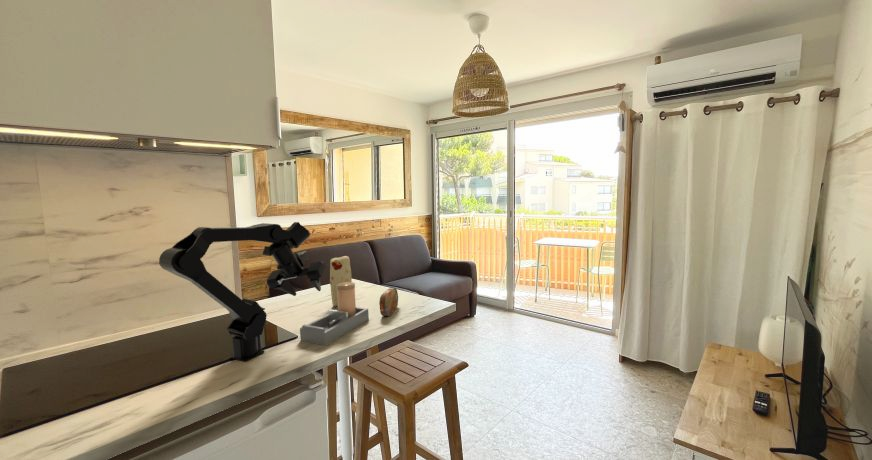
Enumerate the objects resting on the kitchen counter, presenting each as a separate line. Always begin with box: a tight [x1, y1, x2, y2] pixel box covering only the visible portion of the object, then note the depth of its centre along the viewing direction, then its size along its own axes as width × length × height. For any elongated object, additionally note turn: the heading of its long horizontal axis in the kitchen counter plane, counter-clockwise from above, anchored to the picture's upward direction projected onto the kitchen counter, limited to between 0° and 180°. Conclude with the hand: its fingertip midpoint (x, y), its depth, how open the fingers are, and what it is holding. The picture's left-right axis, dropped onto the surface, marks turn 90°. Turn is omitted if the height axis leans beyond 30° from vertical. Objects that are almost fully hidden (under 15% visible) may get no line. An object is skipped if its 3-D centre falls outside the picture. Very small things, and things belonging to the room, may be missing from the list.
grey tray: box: [299, 306, 370, 346], centre depth 122 cm, size 23×10×5 cm, turn 157°
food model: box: [329, 255, 353, 307], centre depth 147 cm, size 10×7×20 cm
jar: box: [337, 281, 357, 318], centre depth 127 cm, size 6×6×13 cm
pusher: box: [327, 309, 348, 326], centre depth 121 cm, size 5×7×5 cm
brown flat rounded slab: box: [379, 287, 399, 317], centre depth 138 cm, size 15×3×8 cm, turn 168°
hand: (307, 292), depth 122 cm, fingers open, 9 cm apart
